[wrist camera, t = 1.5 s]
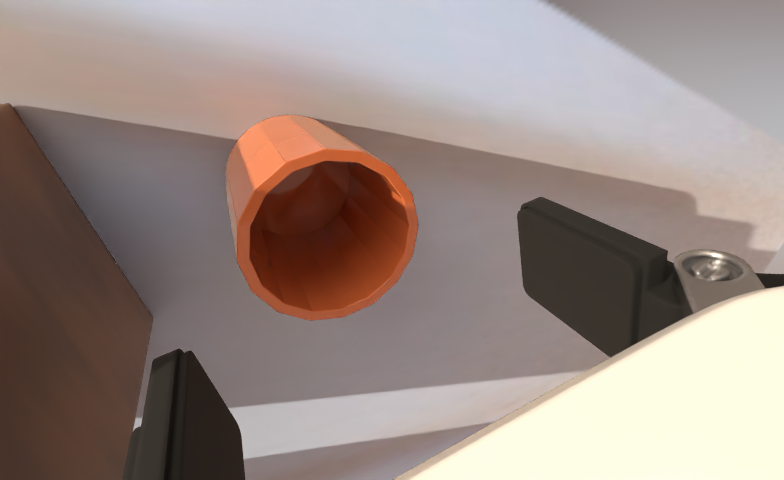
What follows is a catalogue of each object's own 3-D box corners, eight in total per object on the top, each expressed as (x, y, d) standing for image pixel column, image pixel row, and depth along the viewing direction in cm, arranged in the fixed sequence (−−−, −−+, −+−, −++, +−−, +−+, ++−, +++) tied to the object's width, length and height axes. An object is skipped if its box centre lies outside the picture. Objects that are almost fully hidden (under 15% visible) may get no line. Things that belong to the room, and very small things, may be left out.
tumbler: (201, 138, 19) (201, 189, 12) (333, 98, 20) (397, 123, 14) (255, 255, 22) (278, 346, 15) (365, 212, 24) (430, 278, 17)
